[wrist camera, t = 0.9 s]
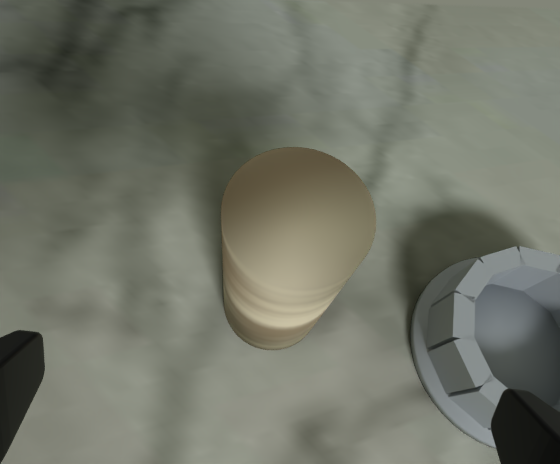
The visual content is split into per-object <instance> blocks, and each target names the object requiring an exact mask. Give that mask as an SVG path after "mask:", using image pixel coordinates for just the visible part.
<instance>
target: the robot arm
mask: <svg viewBox="0 0 560 464" xmlns="http://www.w3.org/2000/svg"><path fill="white" fill-rule="evenodd" d="M44 371H45V363H44V347H43V338H42V335H41V334H40V333H38V332H32V331H24V330H17V331H14V332H12V333H10V334H8V335H5V336H3V337H1V338H0V464H1V462H2V460H3V459H4V457H5V455H6V453H7V451H8V449H9V447H10V445H11V443H12V441H13V439H14V437H15V435H16V433H17V431H18V429H19V427H20V425H21V423H22V421H23V419H24V417H25V415H26V413H27V410H28V408H29V406H30V404H31V402H32V400H33V398H34V396H35V394H36V392H37V390H38V388H39V386H40V384H41V382H42V379H43V376H44ZM491 432H492V436H493V439H494V442H495V446H496V449H497V452H498V456H499V459H500V462H501V464H560V412H559V411H557V410H556V409H554V408H553V407H552V406H550V405H549V404H547V403H546V402H544V401H543V400H541V399H540V398H538V397H537V396H535V395H534V394H533V393H531V392H529V391H527V390H522V389H513V388H508V389H505V390H504V391H503V393H502V395H501V397H500V399H499V402H498V404H497V407H496V409H495V412H494V414H493V417H492V420H491Z"/></svg>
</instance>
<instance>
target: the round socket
mask: <svg viewBox="0 0 560 464" xmlns="http://www.w3.org/2000/svg"><path fill="white" fill-rule="evenodd" d="M410 341H411V350H412V355H413V360H414V364H415V367H416V370H417V373H418V375H419V378H420V380H421V382H422V384H423V386H424V388H425V390H426V392H427V394H428V395H429V397H430V398H431V400H432V401H433V403H434V404H435V405H436V407H437V408H438V409H439V410H440V411H441V413H442V414H443V415H444V416H445V417H446V418H447V419H448V420H449V421H450V422H451V423H452V424H453V425H454V426H456V427H457V428H458V429H460V430H461V431H462V432H463V433H465V434H466V435H468V436H470V437H471V438H473V439H475V440H476V441H478V442H481V443H483V444H485V445H487V446H489V447H493V448H496V446H495V442H494V439H493V436H492V432H491V420H492V417H493V414H494V412H495V409H496V407H497V404H498V402H499V399H500V397H501V395H502V393H503V391H504V390H505V389H508V388H513V389H522V390H527V391H529V392H531V393H533V394H534V395H535V396H537V397H538V398H540V399H541V400H543V401H544V402H546V403H547V404H549V405H550V406H552V407H553V408H554V409H556V410H557V411H559V412H560V255H557V254H552V253H548V252H543V251H539V250H535V249H530V248H526V247H522V246H519V247H516V246H515V247H511V248H508V249H505V250H502V251H498V252H495V253H492V254H489V255H485V256H482V257H479V258H471V259H467V260H463V261H461V262H458V263H455V264H453V265H451V266H450V267H448V268H446V269H445V270H443V271H442V272H441V273H440V274H438V275H437V276H436V277H435V278H433V279H432V280H431V281H430V283H429V284H428V285H427V286H426V287H425V289H424V290H423V292H422V293H421V295H420V296H419V299H418V301H417V303H416V305H415V309H414V312H413V315H412V321H411V333H410Z"/></svg>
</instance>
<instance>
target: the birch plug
mask: <svg viewBox="0 0 560 464" xmlns="http://www.w3.org/2000/svg"><path fill="white" fill-rule="evenodd" d="M375 231H376V213H375V208H374V204H373V201H372V198H371V195H370V193H369V191H368V190H367V188H366V186H365V184H364V183H363V182H362V180H361V179H360V178H359V177H358V175H357V174H356V173H355V172H354V171H353V170H352V169H350V168H349V167H348V166H347V165H346V164H344V163H343V162H341V161H340V160H338V159H336V158H334V157H333V156H331V155H328V154H326V153H323V152H320V151H317V150H314V149H308V148H301V147H284V148H278V149H273V150H270V151H266V152H264V153H262V154H259V155H257V156H255V157H254V158H252V159H250V160H249V161H247V162H246V163H245V164H243V165H242V166H241V167H240V168H239V169H238V170H237V171H236V172H235V174H234V175H233V176H232V178H231V179H230V181H229V183H228V185H227V187H226V189H225V192H224V194H223V199H222V203H221V232H222V260H223V288H224V309H225V314H226V318H227V320H228V323H229V324H230V326H231V328H232V329H233V331H234V332H235V333H236V334H237V335H238V337H240V338H241V339H242V340H243V341H245V342H246V343H248V344H249V345H252V346H254V347H257V348H260V349H265V350H280V349H284V348H288V347H290V346H293V345H294V344H296V343H298V342H299V341H301V340H302V339H303V338H304V337H305V336H306V335H307V334H308V333H309V331H310V330H311V329H312V327H313V326H314V325H315V323H316V322H317V321H318V319H319V318H320V317H321V315H322V314H323V313H324V311H325V310H326V309H327V307H328V306H329V305H330V303H331V302H332V301H333V299H334V298H335V297H336V295H337V294H338V293H339V291H340V290H341V289H342V287H343V286H344V285H345V283H346V282H347V281H348V279H349V278H350V277H351V275H352V274H353V273H354V271H355V270H356V269H357V267H358V266H359V265H360V263H361V262H362V261H363V259H364V258H365V257H366V255H367V254H368V252H369V250H370V248H371V246H372V243H373V240H374V236H375Z"/></svg>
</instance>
